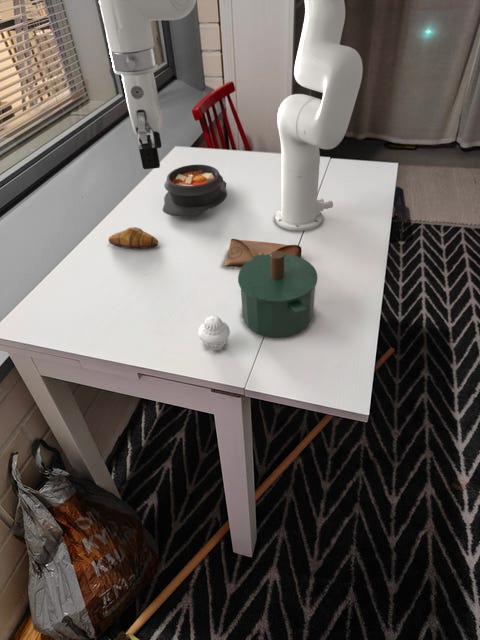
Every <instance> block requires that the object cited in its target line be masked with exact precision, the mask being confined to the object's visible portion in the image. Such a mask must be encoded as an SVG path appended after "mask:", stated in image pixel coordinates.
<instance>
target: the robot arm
mask: <svg viewBox="0 0 480 640" xmlns="http://www.w3.org/2000/svg"><path fill="white" fill-rule="evenodd" d="M303 1H304V8H305V9H304V10H305V11H304V12H305V13H304V19H303V24H302V29H301V35H300V39H299V44H298V48H297V53H296V56H295V62H294V68H293V69H294V70H293V76H294V79H295V81H296V83H297V84H298V85H300V87H303V88H305V89H308V90H312V91H315V92H318V93H322V97H321V98H318V97H315V96H312V95H308V94H305V93H294V94H291V95H289V96H287V97H286V98H284V99H283V101H282V102H281V103H280V105H279V107H278V110H277V114H276V115H277V116H276V122H277V129H278V136H279V139H280V140H279V141H280V155H281V156H280V157H281V161H280V162H281V163H280V165H281V166H280V187H281V188H280V208H279V209H278V210H277V211H276V213H275V215H274V216H275V217H274V218H275V219H274V220H275V223H276V224H277V225H278V226H279V227H281V228H283V229H286V230H288V231H295V232H297V231H298V232H300V231H301V232H302V231H309V230H312V229H314V228H316V227H318V226H319V225H320V224H321V223H322V220H323V214H322V212H323V211H324V210H327V209H331V208H333V207H334V202H333V201H332V200H327V201H325V200H324V198H319V199H318V192H319V180H320V179H319V176H320V165H321V164H320V163H321V152H320V149H322V150H332V149H334V148H336V147H338V146H339V145H340V143H341V142H342V141H343V139H344V138H345V136H346V133H347V131H348V128H349V124H350V121H351V118H352V115H353V111H354V108H355V104H356V101H357V98H358V94H359V90H360V88H361V83H362V80H363V79H362V78H363V72H364V70H363V69H364V67H363V66H364V65H363V60H362V57H361V55H360V54H359V52H358V51H357V50H356V49H355V48H353V47H351V46H348V45H343V44H341V39H342V35H343V30H344V26H345V20H346V4H345V0H303ZM98 4H99V8H100V12H101V18H102V22H103V25H104V26H103V27H104V31H105V35H106V41H107V44H108V49H109V55H110V58H111V62H112V68H113V72H114V73H115V75H119V76H121V81H122V85H123V89H124V94H125V100H126V104H127V109H128V114H129V118H130V123H131V126H132V131H133V133H134V134H135V135H137V139H138V140H137V141H138V151H139V155H140V156H139V157H140V160H141V161H140V162H141V165H142V169H143V170H152V169H160V168H161V163H160V156H159V152H158V151H159V150H158V149H161V148H162V141H161V140H162V139H161V134H160V132H161V131H162V125H163V114H162V109H161V105H160V97H159V93H158V88H157V84H156V83H157V82H156V78H155V74H154V71H156V70H157V69H158V68H159V67H158V59H157V54H156V47H155V41H154V35H153V28H152V22H153V21H177V20H182V19H183V18H185V17H187V16H188V15H189V14H190V13H191V12H192V11H193V10H194V8H195V6H196V4H197V0H98Z"/></svg>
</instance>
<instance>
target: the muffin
mask: <svg viewBox="0 0 480 640" xmlns="http://www.w3.org/2000/svg"><path fill="white" fill-rule="evenodd" d="M197 334H198V338H199V339H200V341H201V343H202V344H203V345H205V346H206V347H207V348H208V349H209V350H211V351H219V350H221V349H222V348H223V347H224V346H225V344H226V343H227V341H228V339H229V337H230V334H231V330H230V326H229V325H228V324H227V323H226V322H225V321H224V320H222V319H221V318H220V317H219V316H215V315H210V316H208V317H207V318H205V319H204V321H203V323H202V324H201V325H200V326H199V328H198V331H197Z"/></svg>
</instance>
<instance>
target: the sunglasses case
mask: <svg viewBox="0 0 480 640" xmlns="http://www.w3.org/2000/svg"><path fill="white" fill-rule="evenodd" d="M229 242H230V243H229V249H228V252H227V257H226V259H225V262H224V264H223V266H224V267H226V268H227V267H230V268H231V267H232V268H242V267H243V266H244V265H245V264H246V263H247V262H249V261H250V260H252V257H254V256H258V255H262V254H263V255H267V254H271V253H272V252H274V251H281V252H283V253H284V254H289V255H294V256H297V257H300V258H302V252H303V251H302V247H301V246H300V245H298V244H284V243H275V242H268V241H257V240H244V239H238V238H231V239H230V241H229Z"/></svg>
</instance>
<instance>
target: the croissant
mask: <svg viewBox="0 0 480 640" xmlns="http://www.w3.org/2000/svg"><path fill="white" fill-rule="evenodd" d="M108 243H109V244H111V245H113V246H115V247H118V248H119V247H120V248H125V249H128V250H129V249H130V250H133V249H151V248H156V247H158V246H159V245H158V244H159V241H158V239H157V238H156V237H155V236H154V235H152V234H150V233H148V232H146V231H143V229H142V228H140V227H136V226H132V227H127V228H126V229H124V230H121V231H118V232H115V233H114V234H111V235H110V236H109V237H108Z"/></svg>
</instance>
